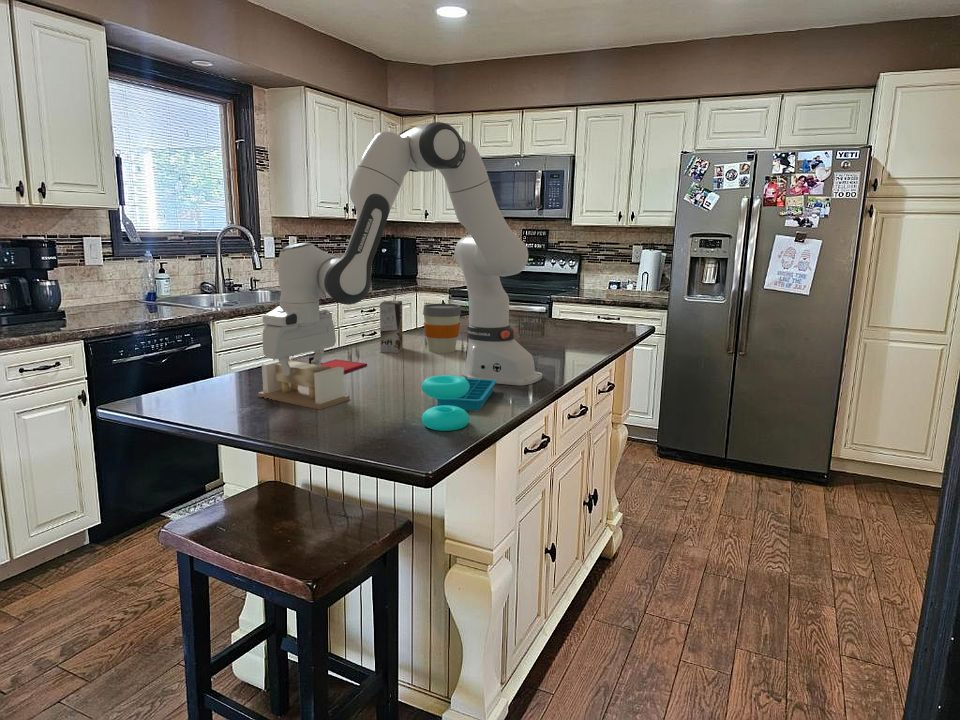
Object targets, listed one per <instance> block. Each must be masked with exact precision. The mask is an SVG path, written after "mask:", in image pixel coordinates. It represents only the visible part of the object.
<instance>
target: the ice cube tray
mask: <svg viewBox="0 0 960 720" xmlns="http://www.w3.org/2000/svg"><path fill="white" fill-rule="evenodd" d="M463 378H464V379H466V380H467V381H468V382H469V385H470V388H469V391H468V392H467V393H466V394H465V395H464V396H462V397H459V398H456V399H436V398H433V399H434V400H437V406H442V405H449V406H456V407H459V408H462V409H464V410H465V411H472V412H473V411H474V412H476V411H480V410H481V409H482V408H483V406H484V405H485V403H486V402H487V400H488V399H489V397H490V396H491V395H492V393H493V388H494V386H495V385H496V384H497V383H496V381H495V380H487V379H471V378H467V377H466V378H465V377H463Z"/></svg>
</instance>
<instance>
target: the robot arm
mask: <svg viewBox="0 0 960 720" xmlns="http://www.w3.org/2000/svg"><path fill="white" fill-rule="evenodd" d="M485 166H486V165H485V164H484V161H483V159H482V157H481V155H480V152H479V150H478V149H477V147H476V145H474V144H473V142H471V141H467V140H464V139H462V138H461V135H460V134H459V132H458V131H457V130H456V128H455V127H453V125H451V124H449V123H445V122H443V121H442V122H441V121H435V122H427V123H420V124H418V125H416V126H414V127H410V128H407V129H405V130H404V131H402V132H401V133H399V134H398V133H395V132H393V131H381V132H378V133H377V134H376V135H375V136H374V137H373V139H372V140H371V142H370V143H369V145H368V146H367V148H366V149H365V151H364V152H363V155H362V156H361V159H359V163H358V165H357V167H356V168H355V172H354V174H353V177H352V180H351V182H350V183H351V184H350V189H349V197H350V200H351V202H352V204H353V206H354V208H355V211H356V221H355V225H354V228H353V230H352V233H351V235H350V238H349V241H348V244H347V245H346V250H345V251H344V253H343V255H342V256H341V257H339V256H336V255H333V254H330V253H328V252H326V251H324V250H322V249H320V248H318V247H317V246H315V245H314V244H313V243H312V242H299V243H293V244H289V245H286V246H285V247H283V248H282V249H281V250H280V253H279V256H278V268H277V269H278V270H277V271H278V284H279V288H280V297H279V305H278V306H276V307H275V308H274V309H271V310H270V311H269V312H266V313H265V314H264V315H262V322H263V323H262V324H264V325H265V326H264V328H263V331H262V352H263V355H264V356H265V358H267V359H269V360H270V359H271V360H279V362H280V364H281V366H282V367H283V373H284V375H287V376H288V375H292V374H293V367H290V365H289V363H288V361H290V359H291V358H290V357H293V356H297V355H302V354H307V353H310V352H313V353H314V356H313V357H314V360H312V361H311V364H314V365H320V366H321V363H322V359H323V357H324V354H325V349H328V348H333V347H334V346H335V344H336V342H337V340H336V337H337V336H336V331H335V329H336V328H335V323H334V320H333V315H332V313H331V312H330V311H329V310H328V309H323V310H320V298H321V297H322V296H326V297H328V298H330V299H332V300H335V302H337V303H338V304H342V305H346V306H350V305H351V306H352V305H355V304H357V303H358V304H359V303H360V302H361V301H362V300H364V299H365V298H366V297H367V295H368V294H369V291H370V290H371V285H372V266H373V262H374V258H375V255H376V253H377V250H378V248H379V246H380V245H379V244H380V242H381V240H382V236H383V233H384V231H385V227H386V224H387V221H388V218H389V216H390V213H391V210H392V207H393V205H394V203H395V200H396V198H397V196H398V193H399V192H400V189H401V186H402V185H403V181H404V180H405V176H406V175H407V173H408V172H413V173H415V172H427V173H429V172H434V171H435V170H438V171H439V173H440V174H441V175H442V177H443V178H444V181H445V184H446V188H447V192H448V194H449V198H450V202H451V204H452V206H453V210H454V213H455V216H456V219H457V221H458V222H459V223H460V225H462V227H464V228H465V230H466V231H467V232H468V233H469V235H466V236H464V237H461V238H460V239H459V240H458V241H457V243H456V245H455V248H454V254H453V255H454V259H455V260H454V261H456V264H457V265H458V266H459V268H460V270H461V272H462V274H463V277H464V281H465V285H466V289H467V294H468V295H467V296H468V324H467V330H466V332H467V334H466V337H467V338H466V339H467V352H466V357H465V358H466V359H465V364H464V368H463V370H462V375H463V376H464V377H466V378H471V379H487V380H495V381H496V383H495V384H498V385H499V384H500V385H508V386H509V385H510V386H511V385H512V386H526V385H528V386H529V385H531V384H534V383H536V382H537V383H538V382H539V381H541V380H542V378H543V373H542V372H539V371H536V369H535V362H534V358H533V357H534V356H533V355H532V354H531V353H530V352H529V351H528V350H526V348H524V347H523V346H522V345H521V344H520V343H519V342H518V341H517V340H515V334H516V333H517V331H518V328H515V329H513V328H512V327H511V325H510V324H509V322H510V321H509V320H510V319H509V317H510V316H509V315H510V298H509V296H508V293H507V292H506V291H505V289H504V287H503V285H502V282H501V279H500V277H509V276H514V275H518V274H520V273H521V272H523V270H524V269H525V268H526V266H527V265H528V260H529V250H528V247H527V245H526V243H525V242H524V241H523V240H522V239H520V238H519V237H518V236H517V234H515V233H514V232H513V230H512V229H511V228H510V226H509V224H508V223H507V221H506V219H505V217H504V216H503V215H502V212H501V210H500V208H499V206H498V203H497V201H496V197H495V195H494V190H493V187H492V185H491V184H492V183H491V180H490V178H489V175H488V174H489V173H488V172H487V169H486V167H485Z"/></svg>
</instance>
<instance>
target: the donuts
mask: <svg viewBox="0 0 960 720" xmlns="http://www.w3.org/2000/svg"><path fill="white" fill-rule="evenodd" d="M464 378H465V377H462V376H460V375H459V376H458V375H450V374H449V375H448V374H443V375H442V374H441V375H432V376H430V377H429V376H428V377H427V378H425V379H424V380H423V381H422V384H421V391H422V392H423V393H424V394H425V395H426V396H428V397H429V398H432V399H434V398H436V399H435V400H437V399H456V398H459V397H462V396H464V395H465V394H466V393H467V392H468V391H469V388H470V385H469V382H468V381H467V380H466V379H464ZM421 421H422V424H423V425H424V426H425V427H426V428H429V429H431V430H434V431H440V432H449V431H457V430H461V429H463V428H465V427H466V426H468V424H469V422H470V415H469V413H468V412H467V410H464V409H462V408H459V407H456V406H449V405H442V406H438V405H436V406H433V407H429V408H428V409H426V410H425V411H424V412H423V413H422V416H421Z"/></svg>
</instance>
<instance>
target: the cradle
mask: <svg viewBox="0 0 960 720" xmlns="http://www.w3.org/2000/svg"><path fill="white" fill-rule="evenodd" d="M290 361H293V360H292V358H290ZM279 363H280V362H279V359H276V360H273V361H268V362H264V363H261V373H262V376H261V377H262V379H263V380H262V391H259V392H258V393H257V395H258V396H259V398H262V397H264V398H263V399H267V398H269V399H268V400H271V399H272V400H271V401H276V400H277V401H278V402H282V403H285V404H291V405H296V406H300V407H305V408H311V409H315V410H319V411H321V410H323V409H325V408H330V407H333V406H335V405H337V404H340V403H344V402H346V401H350V395H348V394H345V375H344V368H343V367H335V368H332V369H328V370H324V371H320V372H317V373H314V382H315V388H313V387H308V386H302V385H297V384H292V383H287V382H281V381H276V365H275V364H279Z"/></svg>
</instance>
